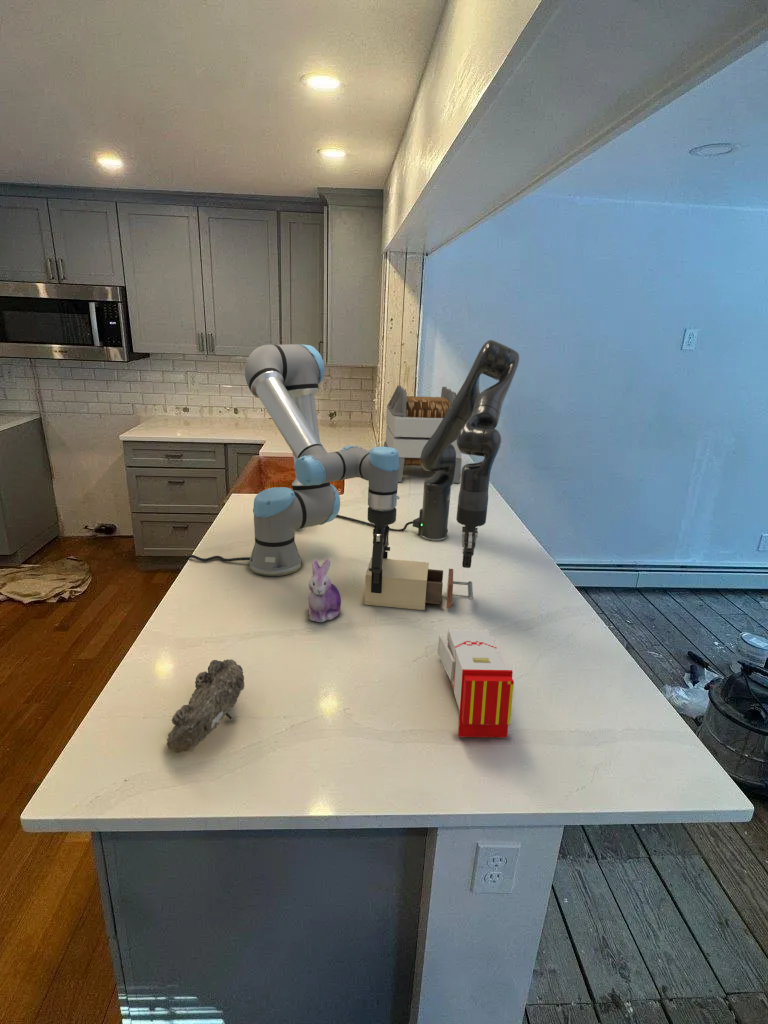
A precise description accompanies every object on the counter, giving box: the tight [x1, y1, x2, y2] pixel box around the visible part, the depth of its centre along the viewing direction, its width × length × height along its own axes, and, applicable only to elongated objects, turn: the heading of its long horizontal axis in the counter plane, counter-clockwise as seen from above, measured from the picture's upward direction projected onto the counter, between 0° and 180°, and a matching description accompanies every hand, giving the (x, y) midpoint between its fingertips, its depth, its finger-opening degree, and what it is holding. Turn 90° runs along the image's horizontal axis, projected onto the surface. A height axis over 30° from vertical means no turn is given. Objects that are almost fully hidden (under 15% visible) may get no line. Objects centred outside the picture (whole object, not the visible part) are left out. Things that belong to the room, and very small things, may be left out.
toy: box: [437, 628, 515, 738], centre depth 117 cm, size 12×13×30 cm
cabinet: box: [364, 557, 430, 611], centre depth 154 cm, size 16×11×9 cm
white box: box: [383, 384, 463, 484], centre depth 268 cm, size 34×33×41 cm
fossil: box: [166, 658, 245, 754], centre depth 106 cm, size 22×10×15 cm
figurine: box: [308, 558, 342, 623], centre depth 143 cm, size 9×10×15 cm
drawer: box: [425, 568, 474, 609], centre depth 153 cm, size 20×10×7 cm, turn 83°
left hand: (379, 582), depth 155 cm, fingers closed on cabinet, 11 cm apart
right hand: (466, 566), depth 150 cm, fingers closed
